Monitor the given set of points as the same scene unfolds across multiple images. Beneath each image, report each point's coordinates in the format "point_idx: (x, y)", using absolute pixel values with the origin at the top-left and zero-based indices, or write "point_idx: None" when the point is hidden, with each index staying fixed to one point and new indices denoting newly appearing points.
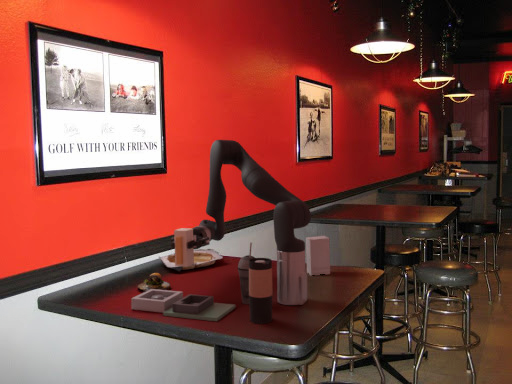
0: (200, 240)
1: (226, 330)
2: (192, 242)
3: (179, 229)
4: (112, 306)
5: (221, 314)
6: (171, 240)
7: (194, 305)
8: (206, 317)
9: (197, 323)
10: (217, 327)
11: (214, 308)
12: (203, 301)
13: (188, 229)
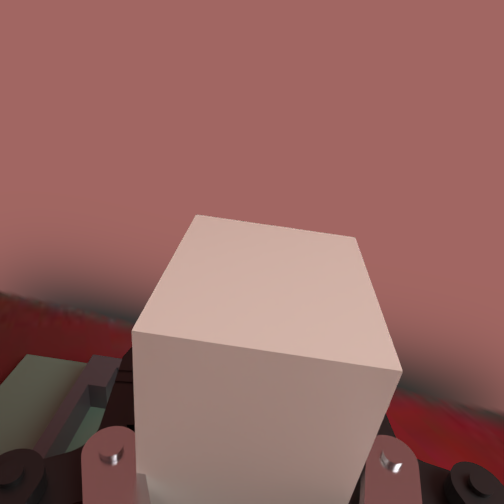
0: (9, 456)
1: (9, 313)
2: (132, 391)
3: (331, 271)
4: (463, 459)
5: (2, 383)
6: (464, 472)
7: (105, 361)
8: (63, 360)
9: (94, 346)
10: (33, 327)
11: (21, 444)
12: (69, 405)
13: (193, 267)
